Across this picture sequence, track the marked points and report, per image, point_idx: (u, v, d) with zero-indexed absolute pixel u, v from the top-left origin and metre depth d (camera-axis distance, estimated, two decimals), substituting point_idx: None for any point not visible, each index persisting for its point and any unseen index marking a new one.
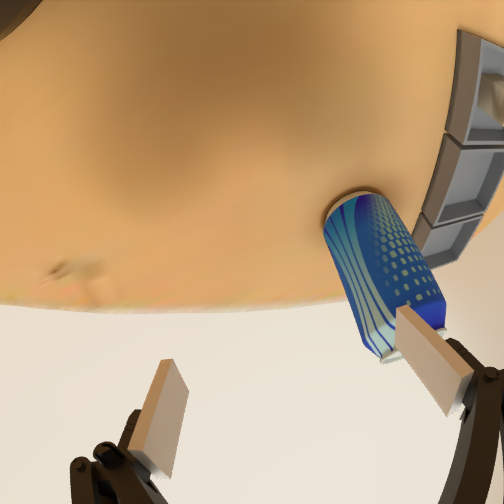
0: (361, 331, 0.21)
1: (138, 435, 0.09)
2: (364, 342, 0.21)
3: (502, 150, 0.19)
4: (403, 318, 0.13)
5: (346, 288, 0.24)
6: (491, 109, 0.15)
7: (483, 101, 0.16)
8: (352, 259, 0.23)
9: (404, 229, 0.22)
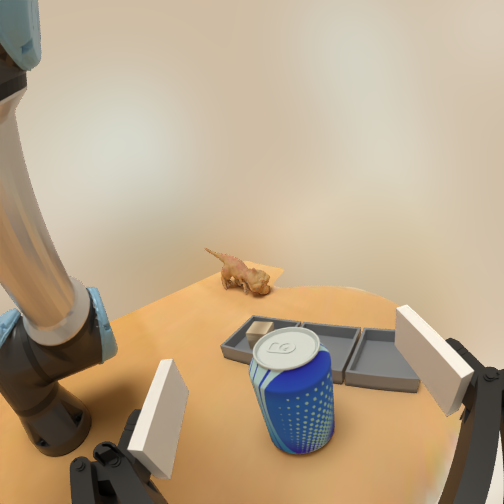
0: (269, 396, 0.23)
1: (138, 435, 0.09)
2: (272, 390, 0.22)
3: None
4: (403, 318, 0.13)
5: (276, 421, 0.24)
6: None
7: None
8: (264, 418, 0.26)
9: None
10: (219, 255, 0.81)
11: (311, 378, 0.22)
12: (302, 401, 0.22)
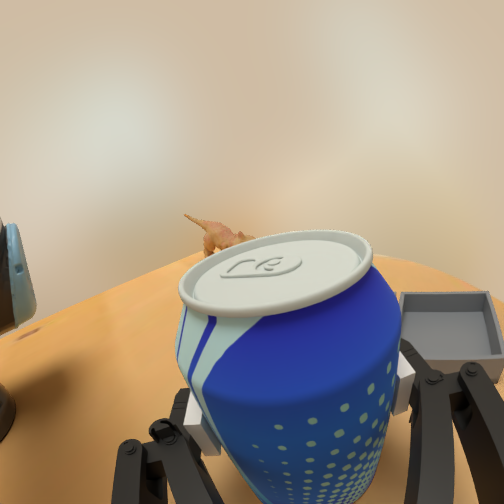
0: (220, 412, 0.07)
1: (193, 410, 0.10)
2: (224, 394, 0.06)
3: None
4: None
5: (252, 471, 0.08)
6: None
7: None
8: None
9: None
10: (201, 222, 0.66)
11: (361, 349, 0.06)
12: (326, 430, 0.06)
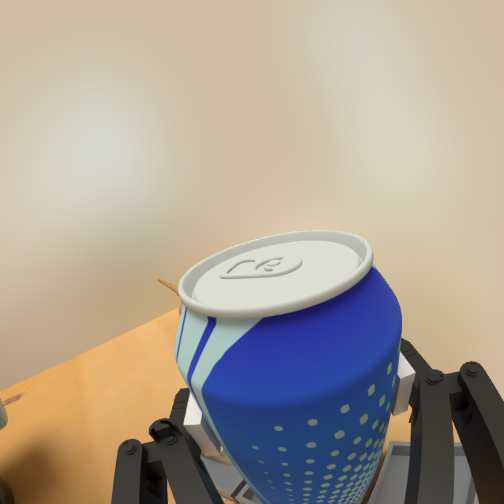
0: (220, 413, 0.07)
1: (193, 410, 0.10)
2: (224, 396, 0.06)
3: None
4: None
5: (252, 472, 0.08)
6: (219, 456, 0.24)
7: (221, 461, 0.24)
8: None
9: None
10: (176, 289, 0.57)
11: (361, 350, 0.06)
12: (326, 431, 0.06)
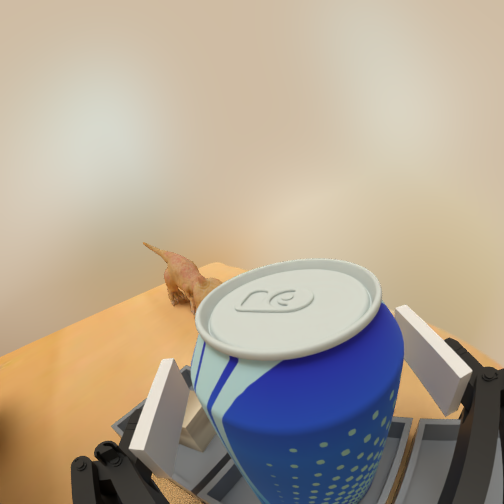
0: (238, 437, 0.07)
1: (139, 434, 0.09)
2: (244, 425, 0.07)
3: None
4: (402, 318, 0.13)
5: (262, 484, 0.08)
6: (184, 437, 0.18)
7: (189, 444, 0.19)
8: None
9: None
10: (163, 253, 0.52)
11: (369, 384, 0.06)
12: (334, 451, 0.07)
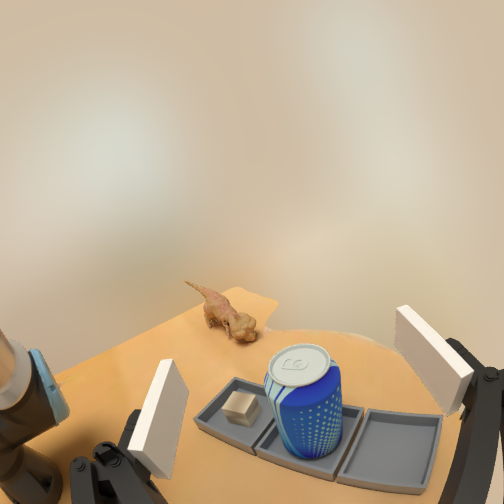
0: (284, 409, 0.24)
1: (138, 435, 0.09)
2: (287, 404, 0.24)
3: None
4: (403, 318, 0.13)
5: (290, 430, 0.25)
6: (242, 419, 0.35)
7: (243, 423, 0.36)
8: (277, 427, 0.28)
9: None
10: (201, 289, 0.69)
11: (323, 392, 0.23)
12: (314, 413, 0.23)
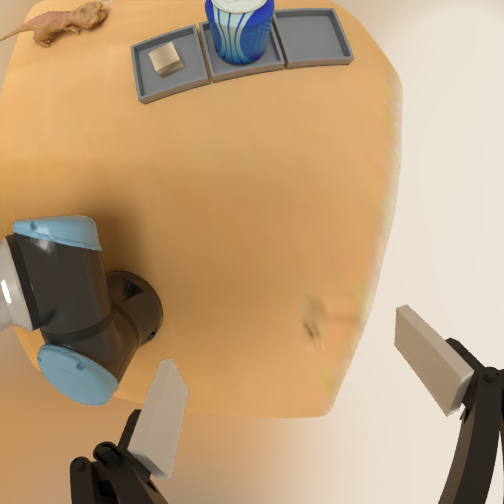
0: (247, 29, 0.24)
1: (138, 435, 0.09)
2: (250, 25, 0.23)
3: (203, 34, 0.32)
4: (403, 318, 0.13)
5: (246, 44, 0.28)
6: (176, 66, 0.34)
7: (177, 69, 0.35)
8: (228, 47, 0.29)
9: None
10: (21, 29, 0.21)
11: (271, 7, 0.22)
12: (267, 23, 0.24)
